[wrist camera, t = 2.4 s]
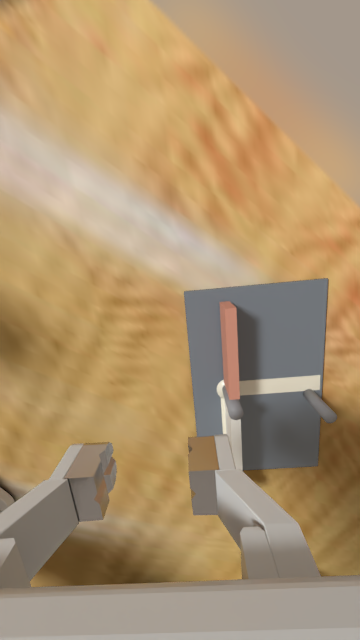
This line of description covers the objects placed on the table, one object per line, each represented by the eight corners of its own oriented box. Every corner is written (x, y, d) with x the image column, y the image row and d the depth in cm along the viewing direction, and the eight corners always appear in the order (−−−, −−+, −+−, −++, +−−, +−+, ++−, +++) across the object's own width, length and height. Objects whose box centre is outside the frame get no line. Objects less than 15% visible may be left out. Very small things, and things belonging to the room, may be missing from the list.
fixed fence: (309, 463, 30) (331, 501, 25) (225, 468, 30) (232, 506, 26) (313, 375, 27) (339, 400, 22) (220, 382, 27) (227, 407, 23)
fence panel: (232, 381, 26) (239, 399, 23) (223, 381, 26) (229, 399, 23) (229, 301, 24) (236, 307, 21) (219, 301, 24) (224, 308, 21)
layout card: (316, 464, 30) (318, 466, 29) (200, 470, 30) (200, 473, 30) (326, 278, 24) (328, 278, 24) (184, 291, 25) (183, 291, 24)
